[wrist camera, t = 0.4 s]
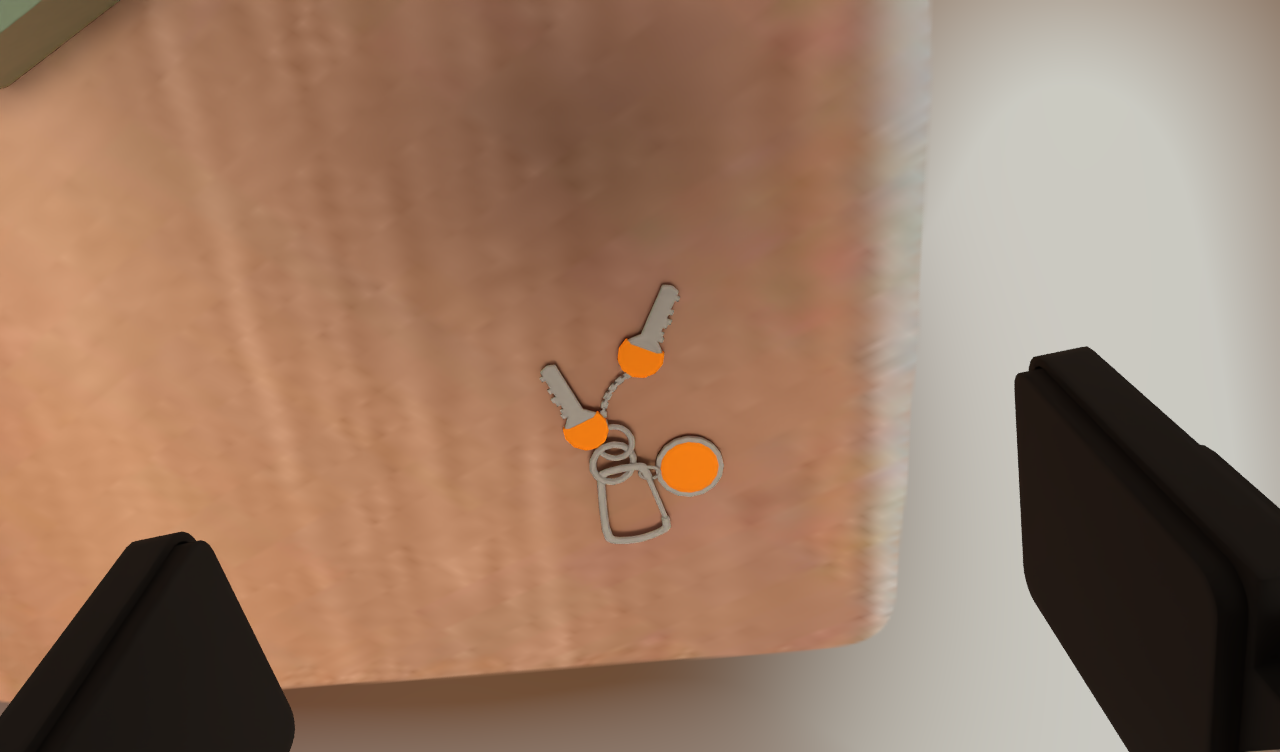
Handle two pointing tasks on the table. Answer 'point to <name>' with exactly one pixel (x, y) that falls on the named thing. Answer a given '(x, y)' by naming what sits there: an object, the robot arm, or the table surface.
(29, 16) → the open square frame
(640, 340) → the key chain
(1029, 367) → the robot arm
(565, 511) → the table surface
